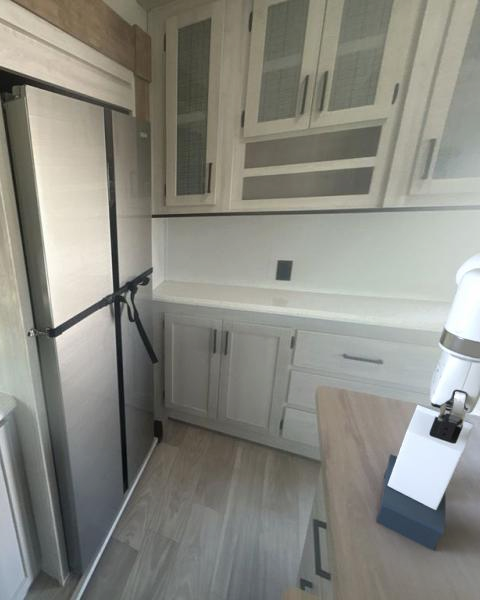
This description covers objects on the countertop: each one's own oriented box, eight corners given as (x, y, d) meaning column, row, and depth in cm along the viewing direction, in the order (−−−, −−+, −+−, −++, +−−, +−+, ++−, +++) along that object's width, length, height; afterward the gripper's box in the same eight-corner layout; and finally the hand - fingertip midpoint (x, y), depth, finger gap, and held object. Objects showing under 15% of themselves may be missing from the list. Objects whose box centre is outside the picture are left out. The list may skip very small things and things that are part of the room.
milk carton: (436, 511, 62) (470, 435, 55) (386, 486, 68) (413, 413, 61) (443, 488, 66) (476, 414, 59) (396, 466, 72) (421, 396, 64)
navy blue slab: (383, 472, 77) (390, 453, 75) (436, 495, 71) (445, 475, 69) (374, 521, 67) (382, 500, 65) (435, 551, 62) (445, 530, 59)
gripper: (441, 317, 62) (416, 391, 69) (439, 359, 51) (410, 441, 58) (504, 327, 57) (471, 406, 63) (517, 376, 46) (475, 464, 53)
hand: (442, 423), depth 61 cm, fingers open, 9 cm apart
